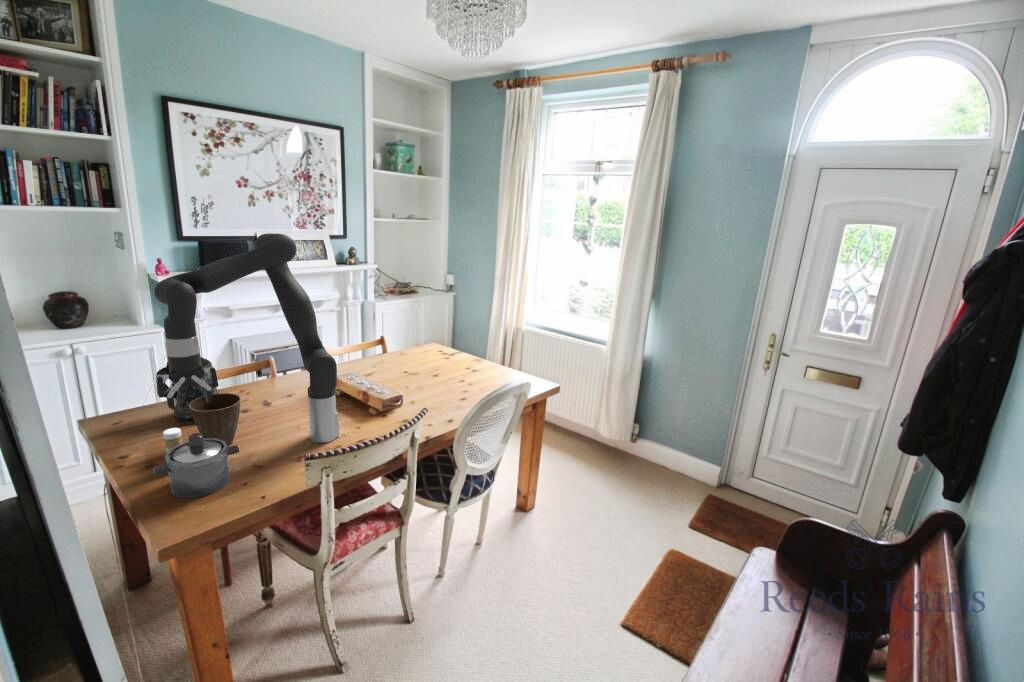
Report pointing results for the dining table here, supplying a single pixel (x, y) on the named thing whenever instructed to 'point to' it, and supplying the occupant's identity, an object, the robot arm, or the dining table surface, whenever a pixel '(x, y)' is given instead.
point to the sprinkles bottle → (172, 438)
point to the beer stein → (188, 394)
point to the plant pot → (217, 416)
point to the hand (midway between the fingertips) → (191, 405)
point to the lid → (196, 450)
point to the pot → (198, 472)
